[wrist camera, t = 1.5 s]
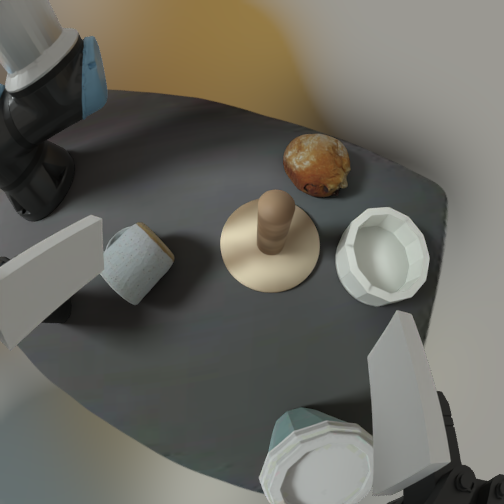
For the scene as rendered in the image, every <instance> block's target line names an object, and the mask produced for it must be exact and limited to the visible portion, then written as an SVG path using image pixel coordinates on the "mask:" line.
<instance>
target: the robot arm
mask: <svg viewBox="0 0 504 504" xmlns="http://www.w3.org/2000/svg"><path fill="white" fill-rule="evenodd" d="M0 63H1V64H2V66H3V67H4V68H5V69H6V71H7V72H8V74H7V79H6V84H5V85H2V84H0V188H1V189H2V190H3V191H4V192H5V193H6V195H7V197H8V199H9V200H10V202H11V204H12V205H13V207H14V209H15V210H16V212H17V213H18V214H19V215H20V216H22V217H23V218H25V219H26V220H28V221H36V220H40V219H42V218H44V217H45V216H47V215H48V214H49V213H51V212H52V211H53V210H54V209H55V208H56V207H57V206H58V205H59V203H60V202H61V201H62V199H63V198H64V196H65V195H66V193H67V191H68V189H69V187H70V185H71V182H72V179H73V176H74V169H75V166H74V161H73V158H72V157H71V156H70V155H69V153H68V152H67V151H66V150H65V149H64V148H62V147H60V146H58V145H56V144H54V143H52V142H49V141H47V139H49V138H50V137H52V136H54V135H55V134H57V133H59V132H61V131H62V130H64V129H66V128H67V127H69V126H71V125H73V124H75V123H77V122H78V121H80V120H82V119H83V120H84V119H85V118H86V117H87V116H88V115H90V114H92V113H94V112H96V111H97V110H99V109H101V108H102V107H103V106H104V105H105V103H106V101H107V85H106V79H105V73H104V68H103V63H102V58H101V54H100V50H99V46H98V44H97V41H96V40H95V37H93V36H90V37H85V38H84V39H83V40H82V39H81V37H80V35H79V33H78V32H77V30H76V29H72V28H62V27H61V25H60V23H59V21H58V19H57V17H56V15H55V13H54V11H53V9H52V7H51V5H50V3H49V0H0ZM103 270H104V256H103V233H102V218H99V217H96V216H93V215H89V216H87V217H86V218H84V219H82V220H80V221H78V222H76V223H74V224H72V225H70V226H68V227H66V228H64V229H63V230H61V231H59V232H57V233H55V234H53V235H52V236H50V237H48V238H46V239H45V240H43V241H41V242H39V243H38V244H36V245H34V246H33V247H31V248H29V249H28V250H26V251H24V252H23V253H21V254H19V255H17V256H15V257H14V258H12V259H11V260H9V261H8V262H7V263H4V264H3V265H1V267H0V340H1V342H2V343H3V344H4V345H5V346H6V347H7V348H8V349H9V350H10V351H11V350H12V349H13V348H14V347H15V346H16V345H17V344H18V343H19V342H20V341H21V340H22V339H23V338H25V337H26V336H27V335H28V334H29V333H30V332H31V331H32V330H33V329H34V328H35V327H37V326H38V325H39V324H40V323H41V322H42V321H43V320H44V319H45V318H47V317H48V316H49V315H50V314H51V313H52V312H53V311H55V310H56V309H57V308H58V307H59V306H60V305H62V304H63V303H64V302H65V301H66V300H68V299H69V298H70V297H71V296H72V295H74V294H75V293H76V292H77V291H78V290H80V289H81V288H82V287H83V286H85V285H86V284H87V283H88V282H89V281H91V280H92V279H93V278H94V277H96V276H97V275H98V274H100V273H101V272H102V271H103ZM367 358H368V367H369V378H370V389H371V403H372V421H373V496H377V495H378V496H380V495H393V494H395V493H397V492H399V491H401V490H403V495H404V496H402V497H400V498H398V499H396V500H393V501H391V502H389V503H387V504H504V475H501V474H499V475H497V476H495V477H494V478H492V479H491V480H489V481H484V480H480V479H476V477H475V474H474V472H473V471H472V470H471V468H470V467H468V466H466V465H462V464H461V460H460V454H459V448H458V443H457V438H456V433H455V428H454V427H453V425H454V424H453V419H452V418H451V411H450V407H449V403H448V401H447V400H446V398H445V396H444V395H443V393H442V392H440V391H436V387H435V384H434V380H433V377H432V373H431V370H430V366H429V363H428V360H427V357H426V353H425V350H424V347H423V344H422V341H421V338H420V335H419V333H418V330H417V327H416V324H415V322H414V319H413V316H412V314H409V313H406V312H402V311H399V310H397V311H396V312H395V314H394V316H393V317H392V319H391V321H390V322H389V324H388V326H387V327H386V329H385V330H384V332H383V334H382V335H381V337H380V338H379V340H378V342H377V343H376V345H375V346H374V348H373V349H372V351H371V352H370V354H369V355H368V357H367Z"/></svg>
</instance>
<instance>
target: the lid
mask: <svg viewBox="0 0 504 504" xmlns="http://www.w3.org/2000/svg"><path fill="white" fill-rule="evenodd" d="M220 245H221V254H222V257H223V260H224V263H225V265H226V267H227V269H228V270H229V272H230V273H231V274H232V276H233V277H234V278H235V279H236V280H237V281H239V282H240V283H241V284H243V285H244V286H246V287H248V288H250V289H253V290H256V291H260V292H266V293H276V292H282V291H286V290H289V289H291V288H293V287H295V286H297V285H298V284H300V283H301V282H302V281H304V280H305V279H306V278H307V277H308V275H309V274H310V273H311V272H312V270H313V268H314V267H315V265H316V262H317V260H318V256H319V250H320V241H319V236H318V232H317V229H316V227H315V225H314V223H313V221H312V220H311V219H310V217H309V216H308V215H307V214H306V213H305V212H304V211H303V210H302V209H301V208H299V207H298V206H296V205H295V202H294V200H293V198H292V197H291V196H290V195H289V194H288V193H286V192H284V191H282V190H270V191H267V192H265V193H264V194H263V195H262V196H261V197H260V199H257V200H253V201H250V202H248V203H246V204H244V205H242V206H241V207H239V208H238V209H237V210H236V211H235V212H234V213H233V214H232V215H231V216H230V217H229V218H228V220H227V222H226V223H225V225H224V228H223V231H222V234H221V241H220Z"/></svg>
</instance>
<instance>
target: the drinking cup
mask: <svg viewBox="0 0 504 504" xmlns="http://www.w3.org/2000/svg"><path fill="white" fill-rule="evenodd" d="M9 260H10V259H8V258H6V257H0V267H1V265H3V264H4V263H7V262H8V261H9ZM70 313H71V302H70V299H68V300H66V301H65V302H64V303H63V304H62V305H60V306H59V307H58V308H57V309H56V310H55V311H53V312H52V313H51V314H50V315H49V316H48V317H47V318H45V319H44V320H43V321H42V322H41V323H63V322H65V321H66V320H67V319H68V317H69V316H70Z"/></svg>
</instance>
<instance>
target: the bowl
mask: <svg viewBox="0 0 504 504" xmlns="http://www.w3.org/2000/svg"><path fill="white" fill-rule="evenodd" d="M429 260H430V257H429V253H428V249H427V246H426V242H425V239H424V235H423V234H422V233H421V231H420V230H419V229H418V228H417V226H416V225H415V224H414V223H413V222H412V220H411V219H410V218H409V217H408V216H406V215H404V214H402V213H400V212H398V211H396V210H394V209H392V208H389V207H383V208H369V209H367V210H366V211H364V212H363V213H362V214H361V215H359V216H358V217H357V218H356V219H355V220H353V221H352V222H351V223H350V225H349V226H348V227H347V229H346V230H345V231H344V233H343V234H342V237H341V239H340V241H339V243H338V246H337V249H336V255H335V265H336V271H337V275H338V277H339V280H340V282H341V284H342V285H343V287H344V288H345V290H346V291H347V292H348V293H349V294H350V295H351V296H352V297H353V298H355V299H356V300H358V301H359V302H361V303H363V304H366V305H370V306H376V307H378V306H384V305H387V304H391V303H396V302H399V301H402V300H405V299H408V298H411V297H412V296H413V295H414V294H415V293H416V292H417V291H418V289H419V288H420V287H421V286H422V285H423V284H424V282H425V281H426V277H427V272H428V266H429Z"/></svg>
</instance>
